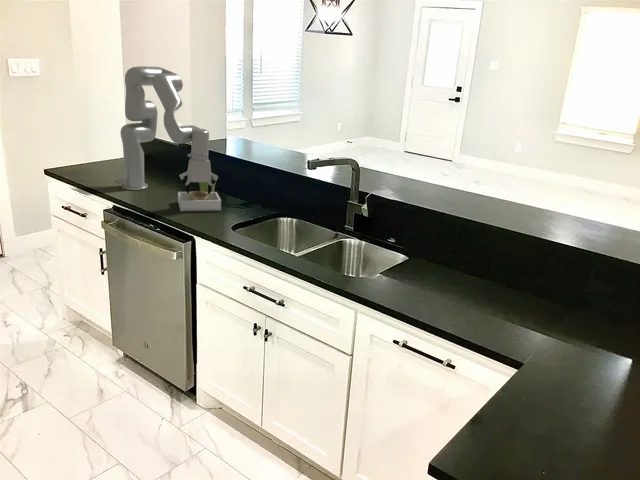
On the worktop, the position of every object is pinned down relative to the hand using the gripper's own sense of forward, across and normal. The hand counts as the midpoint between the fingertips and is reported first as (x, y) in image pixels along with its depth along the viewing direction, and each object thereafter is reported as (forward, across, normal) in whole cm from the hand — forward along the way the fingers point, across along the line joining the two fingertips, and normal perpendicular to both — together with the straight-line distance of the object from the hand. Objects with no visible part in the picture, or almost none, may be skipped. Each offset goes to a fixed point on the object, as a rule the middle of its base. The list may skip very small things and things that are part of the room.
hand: (198, 193), depth 251 cm
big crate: (+6, 0, -1) cm, 6 cm away
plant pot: (+7, +6, +17) cm, 20 cm away
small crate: (+6, 0, 0) cm, 6 cm away
